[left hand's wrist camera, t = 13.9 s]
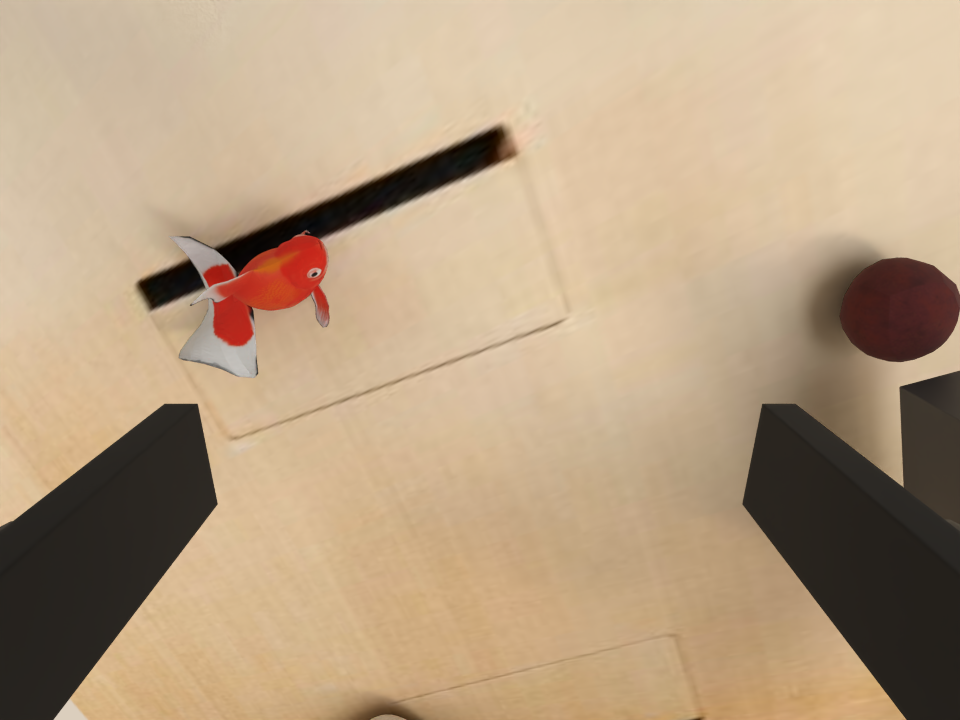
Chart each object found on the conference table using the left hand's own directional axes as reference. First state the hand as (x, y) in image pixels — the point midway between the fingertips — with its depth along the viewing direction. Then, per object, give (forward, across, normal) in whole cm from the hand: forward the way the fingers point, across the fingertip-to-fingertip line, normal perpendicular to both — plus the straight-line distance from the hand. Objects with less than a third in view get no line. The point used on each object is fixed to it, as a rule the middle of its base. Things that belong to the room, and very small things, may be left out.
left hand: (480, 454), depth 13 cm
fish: (+32, -17, -3) cm, 36 cm away
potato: (+32, +31, -4) cm, 45 cm away
